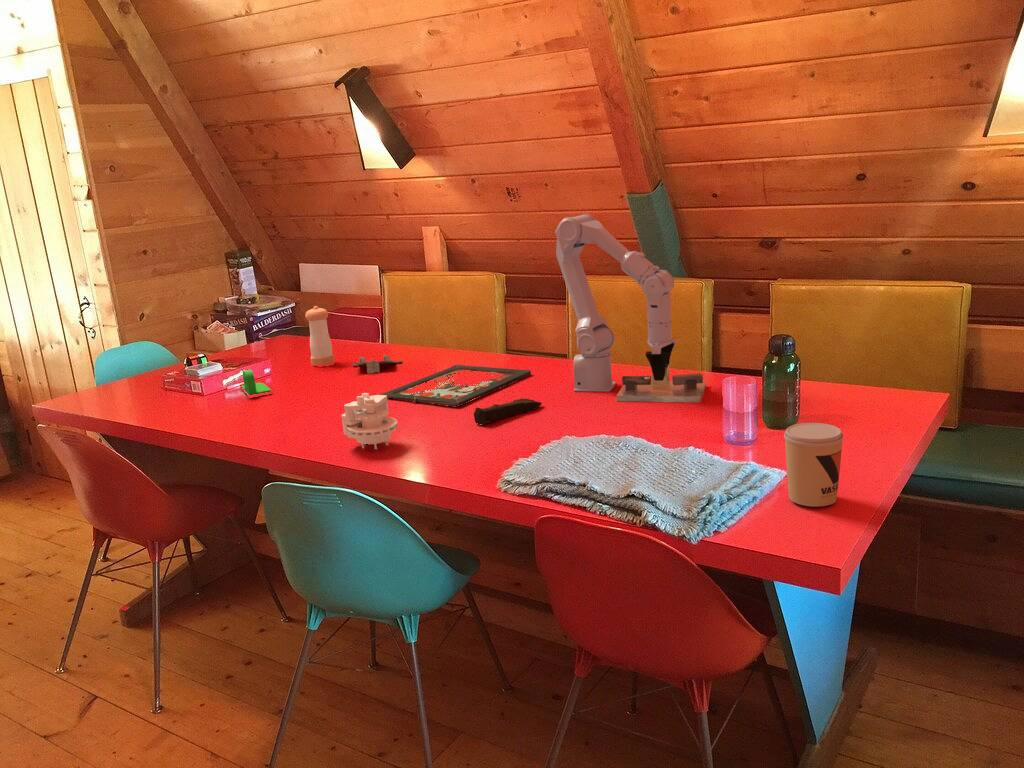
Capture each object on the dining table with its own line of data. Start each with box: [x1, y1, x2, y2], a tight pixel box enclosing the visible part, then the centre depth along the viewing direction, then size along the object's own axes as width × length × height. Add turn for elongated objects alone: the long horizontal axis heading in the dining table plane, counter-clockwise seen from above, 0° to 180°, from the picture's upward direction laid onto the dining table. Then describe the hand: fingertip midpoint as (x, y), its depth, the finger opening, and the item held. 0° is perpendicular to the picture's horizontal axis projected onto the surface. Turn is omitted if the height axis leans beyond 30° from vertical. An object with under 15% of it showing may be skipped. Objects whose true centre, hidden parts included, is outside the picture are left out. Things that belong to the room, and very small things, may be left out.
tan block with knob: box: [651, 363, 671, 390], centre depth 217 cm, size 4×4×7 cm
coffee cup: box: [783, 422, 844, 508], centre depth 149 cm, size 9×9×12 cm
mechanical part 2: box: [341, 392, 399, 450], centre depth 194 cm, size 11×12×12 cm
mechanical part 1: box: [240, 369, 272, 395], centre depth 249 cm, size 12×6×8 cm, turn 28°
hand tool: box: [473, 398, 543, 426], centre depth 210 cm, size 19×4×5 cm
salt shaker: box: [304, 305, 336, 366], centre depth 275 cm, size 7×7×19 cm
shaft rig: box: [615, 372, 707, 404], centre depth 218 cm, size 20×14×5 cm
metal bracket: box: [352, 354, 403, 374], centre depth 267 cm, size 14×6×15 cm
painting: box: [378, 364, 532, 407], centre depth 240 cm, size 28×35×2 cm
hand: (661, 376), depth 217 cm, fingers open, 7 cm apart
